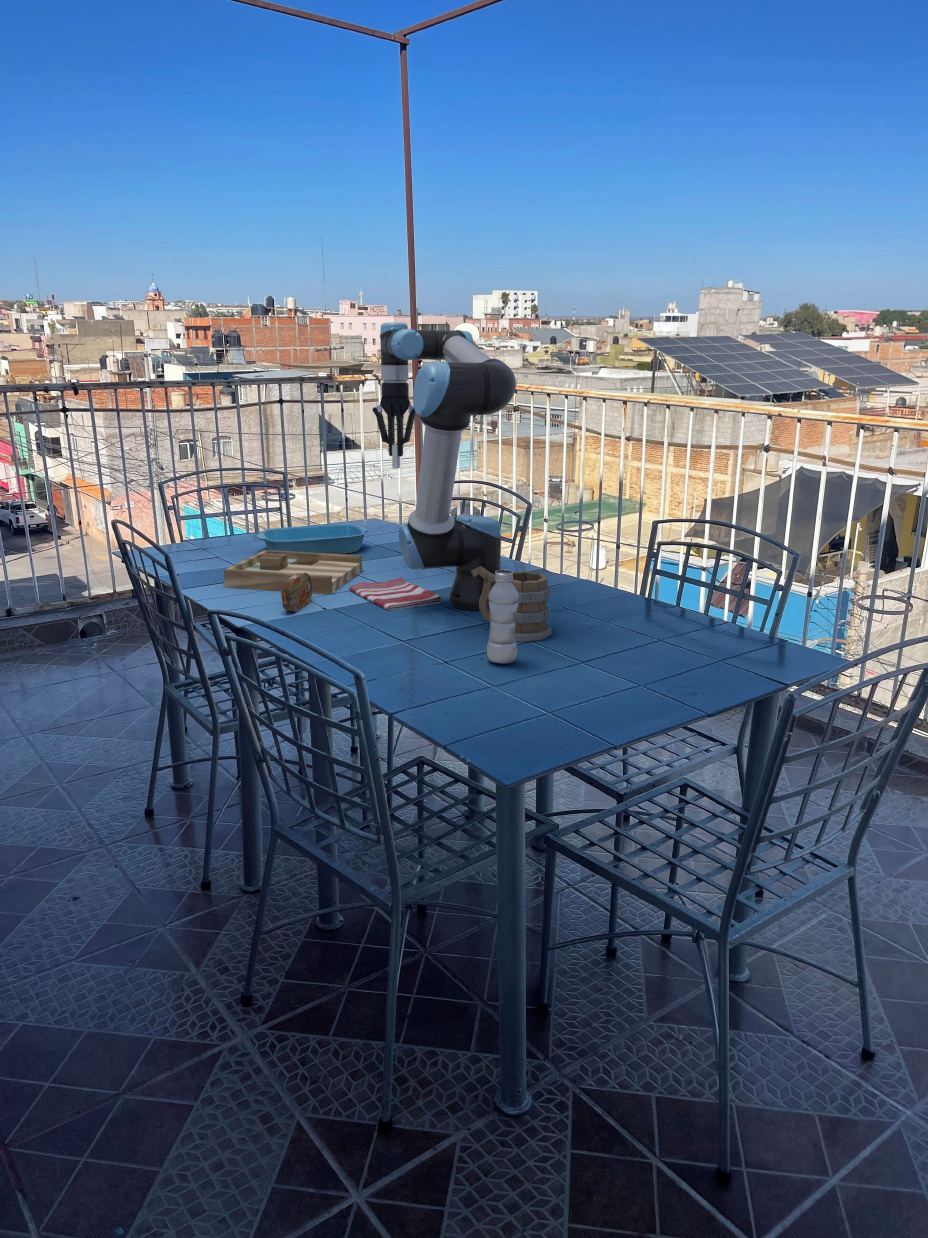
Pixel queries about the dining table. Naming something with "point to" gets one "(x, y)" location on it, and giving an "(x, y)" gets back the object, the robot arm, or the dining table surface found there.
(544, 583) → the tankard
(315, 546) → the casserole dish
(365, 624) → the dining table surface
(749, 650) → the dining table surface
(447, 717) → the dining table surface
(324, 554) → the box
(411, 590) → the dish towel
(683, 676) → the dining table surface
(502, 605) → the plastic bottle
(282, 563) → the walnut block
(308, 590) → the tin
